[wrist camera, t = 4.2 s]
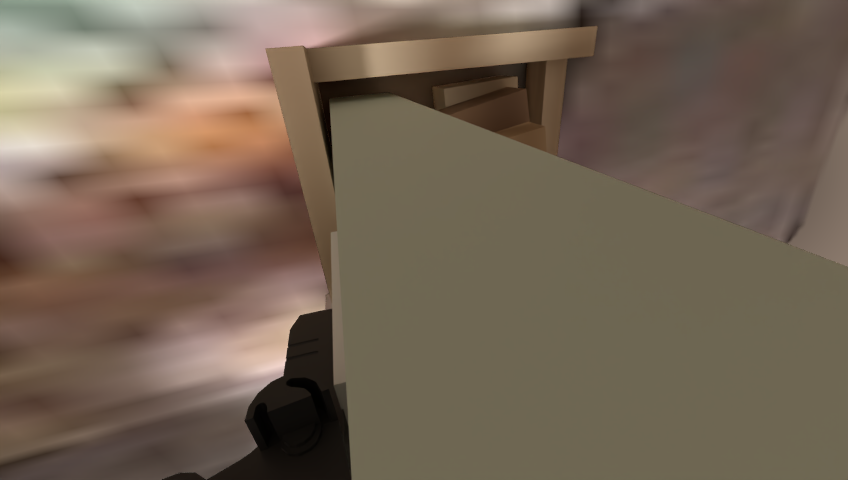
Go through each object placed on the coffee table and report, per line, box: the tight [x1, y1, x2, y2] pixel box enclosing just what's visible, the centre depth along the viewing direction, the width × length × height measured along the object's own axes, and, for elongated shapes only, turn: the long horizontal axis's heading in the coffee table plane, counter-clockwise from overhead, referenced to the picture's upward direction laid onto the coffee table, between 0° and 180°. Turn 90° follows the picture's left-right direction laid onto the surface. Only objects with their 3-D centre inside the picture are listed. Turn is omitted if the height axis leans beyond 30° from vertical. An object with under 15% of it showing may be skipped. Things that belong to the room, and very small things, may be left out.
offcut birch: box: [432, 75, 518, 111], centre depth 21 cm, size 4×10×2 cm, turn 7°
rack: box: [266, 26, 598, 302], centre depth 18 cm, size 14×14×6 cm
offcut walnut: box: [437, 87, 530, 132], centre depth 19 cm, size 4×9×2 cm, turn 15°
